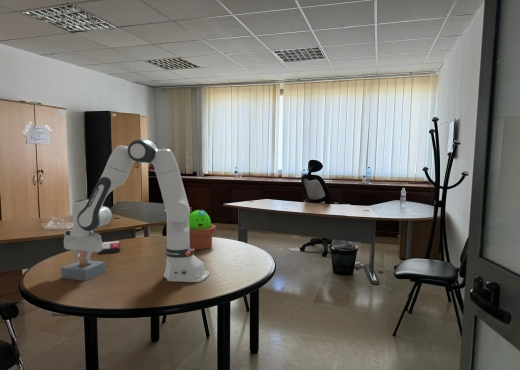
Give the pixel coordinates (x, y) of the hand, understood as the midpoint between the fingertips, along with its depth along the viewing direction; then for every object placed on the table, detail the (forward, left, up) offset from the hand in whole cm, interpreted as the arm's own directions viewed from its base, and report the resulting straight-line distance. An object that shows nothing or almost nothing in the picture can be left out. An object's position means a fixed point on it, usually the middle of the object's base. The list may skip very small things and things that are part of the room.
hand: (83, 259), depth 169 cm
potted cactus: (-31, -67, -8) cm, 74 cm away
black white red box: (+18, -42, -9) cm, 47 cm away
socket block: (0, 0, -8) cm, 8 cm away
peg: (0, 0, -5) cm, 5 cm away
